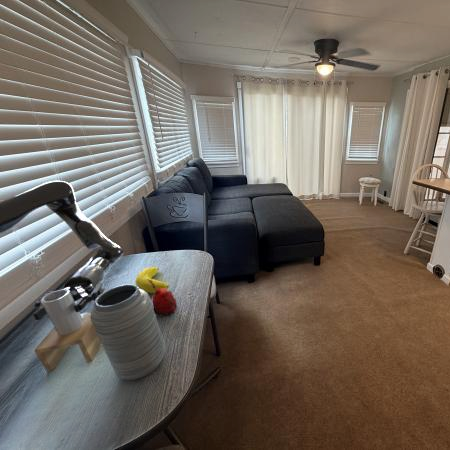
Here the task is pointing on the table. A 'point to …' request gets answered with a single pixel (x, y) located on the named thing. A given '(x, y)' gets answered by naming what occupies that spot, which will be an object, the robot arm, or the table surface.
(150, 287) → the fruit
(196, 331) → the table surface
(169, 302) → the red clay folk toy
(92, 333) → the small wooden bench
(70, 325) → the white cylindrical cup
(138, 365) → the vase
